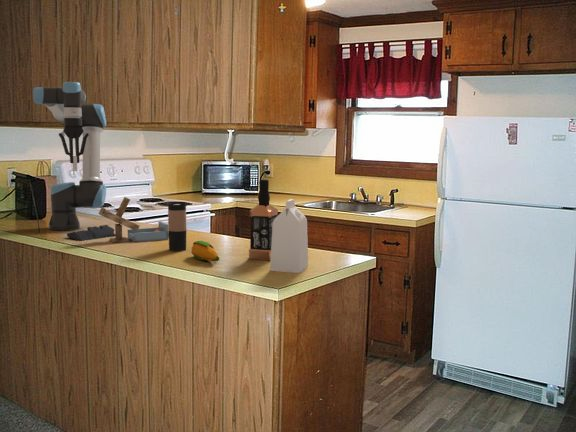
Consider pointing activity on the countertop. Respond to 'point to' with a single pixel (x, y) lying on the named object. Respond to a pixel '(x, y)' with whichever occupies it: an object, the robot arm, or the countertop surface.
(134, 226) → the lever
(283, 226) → the milk
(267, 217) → the whiskey bottle
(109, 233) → the dark slate chunk
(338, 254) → the countertop surface
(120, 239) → the fulcrum
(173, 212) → the travel mug
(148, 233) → the bin
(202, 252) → the corn
